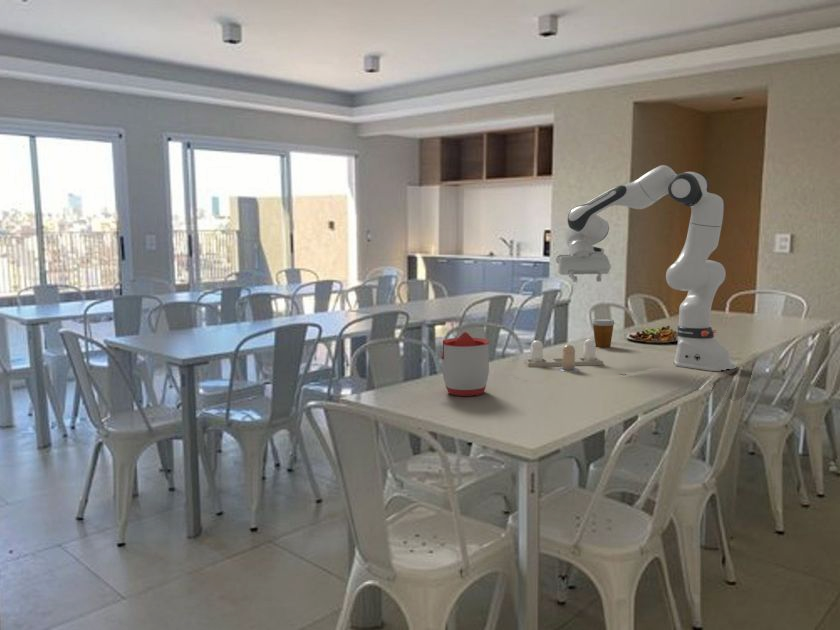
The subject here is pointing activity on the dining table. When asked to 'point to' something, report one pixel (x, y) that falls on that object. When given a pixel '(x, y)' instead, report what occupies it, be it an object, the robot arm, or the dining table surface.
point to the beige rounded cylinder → (568, 358)
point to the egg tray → (559, 362)
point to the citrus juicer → (465, 365)
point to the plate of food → (654, 335)
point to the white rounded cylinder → (589, 350)
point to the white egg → (536, 351)
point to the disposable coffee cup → (603, 332)
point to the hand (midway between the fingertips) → (587, 280)
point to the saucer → (567, 371)
